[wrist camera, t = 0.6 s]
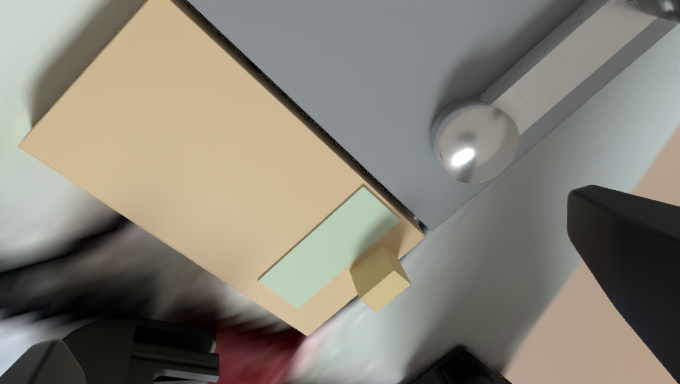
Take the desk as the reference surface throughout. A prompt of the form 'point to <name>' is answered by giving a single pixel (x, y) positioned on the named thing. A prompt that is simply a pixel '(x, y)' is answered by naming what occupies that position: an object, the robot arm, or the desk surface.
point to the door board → (296, 132)
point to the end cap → (144, 352)
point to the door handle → (536, 86)
